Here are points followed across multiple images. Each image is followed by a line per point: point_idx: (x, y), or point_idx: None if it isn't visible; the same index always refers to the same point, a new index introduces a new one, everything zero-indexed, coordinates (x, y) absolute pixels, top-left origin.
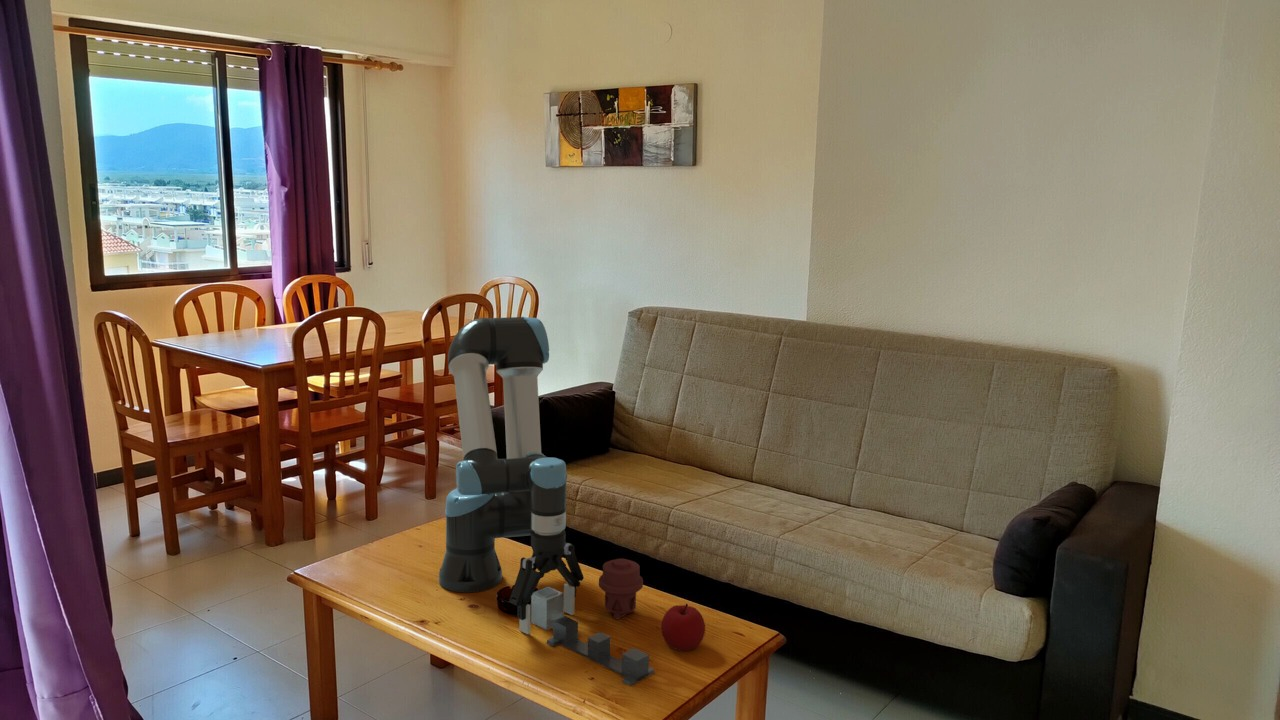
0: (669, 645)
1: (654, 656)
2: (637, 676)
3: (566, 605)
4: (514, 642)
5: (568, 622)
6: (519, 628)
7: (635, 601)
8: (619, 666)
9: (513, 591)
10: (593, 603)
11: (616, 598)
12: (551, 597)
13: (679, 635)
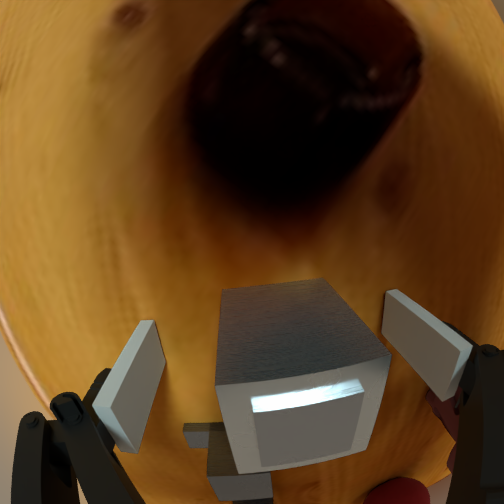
0: (366, 498)
1: (331, 501)
2: None
3: (399, 318)
4: (98, 363)
5: (245, 493)
6: (138, 325)
7: None
8: None
9: (19, 465)
10: (470, 290)
11: (452, 436)
12: (282, 465)
13: None
